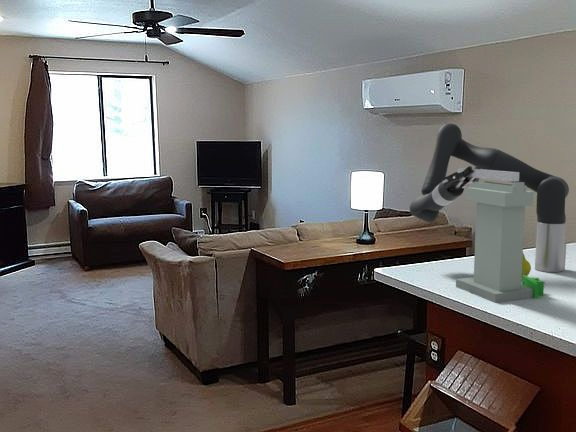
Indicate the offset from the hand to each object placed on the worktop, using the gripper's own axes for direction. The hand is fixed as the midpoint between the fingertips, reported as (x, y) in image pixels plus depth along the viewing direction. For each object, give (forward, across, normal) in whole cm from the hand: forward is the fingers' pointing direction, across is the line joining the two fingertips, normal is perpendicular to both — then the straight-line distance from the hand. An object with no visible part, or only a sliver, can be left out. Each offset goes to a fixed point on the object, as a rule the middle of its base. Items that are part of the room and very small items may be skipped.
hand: (475, 168), depth 187 cm
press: (-10, 0, +38) cm, 39 cm away
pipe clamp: (-5, +10, +41) cm, 43 cm away
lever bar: (+3, 0, +5) cm, 6 cm away
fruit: (-20, +20, +33) cm, 43 cm away
